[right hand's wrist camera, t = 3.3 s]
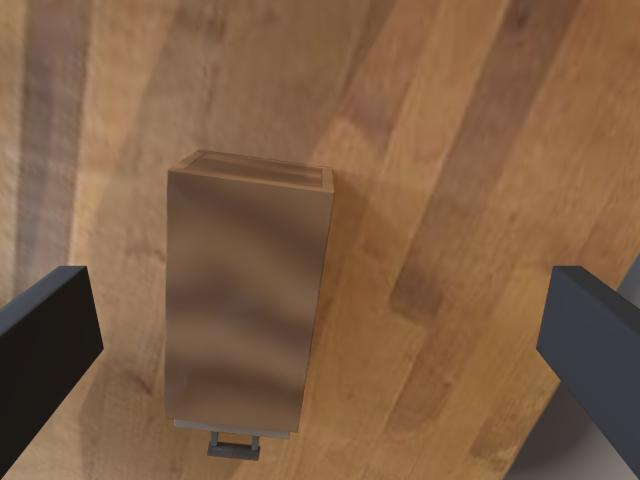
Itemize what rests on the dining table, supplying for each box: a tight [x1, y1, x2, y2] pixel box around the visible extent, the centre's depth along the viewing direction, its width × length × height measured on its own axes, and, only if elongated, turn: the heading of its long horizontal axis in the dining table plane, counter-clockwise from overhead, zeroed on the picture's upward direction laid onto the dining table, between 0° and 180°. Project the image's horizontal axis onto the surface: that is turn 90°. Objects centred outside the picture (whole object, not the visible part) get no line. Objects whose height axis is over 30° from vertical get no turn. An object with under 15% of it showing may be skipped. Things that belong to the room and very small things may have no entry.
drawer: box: [174, 419, 290, 461], centre depth 39 cm, size 26×10×6 cm, turn 172°
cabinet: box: [164, 150, 335, 433], centre depth 37 cm, size 21×11×8 cm, turn 172°
